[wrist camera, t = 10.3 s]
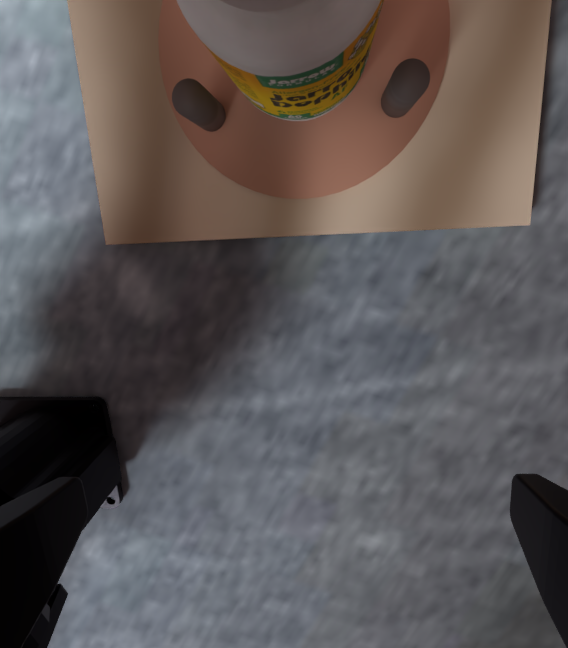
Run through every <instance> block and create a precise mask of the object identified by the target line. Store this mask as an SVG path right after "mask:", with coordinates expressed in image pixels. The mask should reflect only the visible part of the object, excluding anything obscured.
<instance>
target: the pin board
mask: <svg viewBox="0 0 568 648" xmlns="http://www.w3.org/2000/svg"><path fill="white" fill-rule="evenodd" d="M67 2H68V8H69V15H70V21H71V27H72V34H73V40H74V46H75V53H76V59H77V65H78V72H79V78H80V84H81V91H82V97H83V103H84V110H85V116H86V122H87V128H88V135H89V141H90V147H91V154H92V160H93V166H94V173H95V179H96V185H97V192H98V198H99V204H100V211H101V217H102V223H103V230H104V236H105V242H106V245H114V244H135V243H157V242H178V241H200V240H221V239H242V238H264V237H285V236H307V235H328V234H350V233H371V232H393V231H414V230H436V229H457V228H478V227H500V226H521V225H530V220H531V210H532V200H533V189H534V179H535V168H536V158H537V148H538V137H539V127H540V116H541V106H542V95H543V85H544V75H545V64H546V54H547V43H548V33H549V23H550V12H551V2H552V0H384V2H383V5H382V9H381V12H380V16H379V20H378V24H377V27H376V31H375V35H374V38H373V42H372V46H371V50H370V53H369V57H368V60H367V63H366V65H365V68H364V71H363V73H362V75H361V77H360V80H359V82H358V83H357V85H356V87H355V88H354V90H353V91H352V92H351V94H350V95H349V96H348V97H347V98H346V99H345V100H344V101H343V102H342V103H341V104H340V105H339V106H337V107H336V108H335V109H333V110H332V111H330V112H328V113H327V114H325V115H323V116H321V117H318V118H316V119H312V120H308V121H289V120H283V119H279V118H276V117H273V116H271V115H268V114H266V113H264V112H263V111H261V110H260V109H258V108H257V107H255V106H254V105H253V104H252V103H251V102H250V101H249V100H248V99H247V98H246V97H245V96H244V94H243V93H242V92H241V91H240V89H239V88H238V87H237V86H236V85H235V83H234V82H233V81H232V79H231V78H230V77H229V76H228V74H227V73H226V72H225V70H224V69H223V68H222V67H221V65H220V64H219V63H218V61H217V60H216V59H215V58H214V56H213V55H212V54H211V52H210V51H209V50H208V49H207V47H206V46H205V45H204V44H203V43H202V41H201V40H200V39H199V37H198V36H197V35H196V33H195V32H194V31H193V29H192V28H191V27H190V25H189V24H188V22H187V20H186V19H185V17H184V15H183V13H182V11H181V9H180V7H179V5H178V3H177V0H67Z"/></svg>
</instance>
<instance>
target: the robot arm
mask: <svg viewBox="0 0 568 648" xmlns="http://www.w3.org/2000/svg"><path fill="white" fill-rule="evenodd" d="M93 404H94V405H96V406H98V408H99V410H97V409H95V408H94V406H93ZM120 480H121V471H120V466H119V460H118V454H117V448H116V442H115V439H114V437H113V436H112V431H111V425H110V420H109V414H108V408H107V404H106V402H105V401H104V399H102V398H100V397H0V648H47V646H48V644H49V641H50V639H51V636H52V634H53V631H54V628H55V626H56V623H57V621H58V618H59V616H60V613H61V611H62V608H63V605H64V603H65V600H66V598H67V595H68V593H67V591H66V590H65V589H64V587H63V586H62V585H61V584H57V583H58V581H59V579H60V577H61V575H62V573H63V570H64V568H65V566H66V564H67V562H68V560H69V557H70V555H71V553H72V551H73V549H74V547H75V545H76V542H77V540H78V538H79V536H80V534H81V532H82V530H83V529H84V528H85V527H86V525H87V524H88V523H89V521H90V520H91V519H92V517H93V516H94V515H95V513H96V512H97V511H98V509H99V508H109V509H113V508H116V507H118V506H119V504H120V503H121V501H122V500H123V494H122V488H121V483H120ZM111 497H113V498H114V499H115V500H113V499H112V498H111ZM510 516H511V521H512V524H513V527H514V529H515V532H516V534H517V537H518V539H519V542H520V544H521V547H522V549H523V552H524V555H525V557H526V560H527V562H528V565H529V567H530V570H531V572H532V575H533V577H534V580H535V582H536V585H537V588H538V590H539V592H540V595H541V597H542V600H543V602H544V604H545V606H546V608H547V610H548V612H549V614H550V616H551V618H552V620H553V622H554V624H555V626H556V628H557V630H558V632H559V634H560V636H561V638H562V640H563V642H564V644H565V645H566V647H567V648H568V490H566V489H564V488H562V487H560V486H559V485H557V484H555V483H553V482H551V481H549V480H547V479H546V478H544V477H542V476H540V475H538V474H516V475H515V476H514V477H513V480H512V489H511V502H510Z"/></svg>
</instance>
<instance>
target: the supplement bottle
mask: <svg viewBox="0 0 568 648" xmlns="http://www.w3.org/2000/svg"><path fill="white" fill-rule="evenodd" d="M383 2H384V0H177V3H178V5H179V7H180V9H181V11H182V13H183V15H184V17H185V19H186V20H187V22H188V24H189V25H190V27H191V28H192V29H193V31H194V32H195V33H196V35H197V36H198V37H199V39H200V40H201V41H202V43H203V44H204V45H205V46H206V47H207V49H208V50H209V51H210V52H211V54H212V55H213V56H214V58H215V59H216V60H217V61H218V63H219V64H220V65H221V67H222V68H223V69H224V70H225V72H226V73H227V74H228V76H229V77H230V78H231V79H232V81H233V82H234V83H235V85H236V86H237V87H238V88H239V89H240V91H241V92H242V93H243V94H244V96H245V97H246V98H247V99H248V100H249V101H250V102H251V103H252V104H253V105H254V106H255V107H257V108H258V109H260V110H261V111H263V112H264V113H266V114H268V115H271V116H273V117H276V118H279V119H283V120H289V121H308V120H312V119H316V118H318V117H321V116H323V115H325V114H327V113H328V112H330V111H332V110H333V109H335V108H336V107H337V106H339V105H340V104H341V103H342V102H343V101H344V100H345V99H346V98H347V97H348V96H349V95H350V94H351V92H352V91H353V90H354V88H355V87H356V85H357V83H358V82H359V80H360V77H361V75H362V73H363V71H364V68H365V65H366V63H367V60H368V57H369V53H370V50H371V46H372V42H373V38H374V35H375V31H376V27H377V24H378V20H379V16H380V12H381V9H382V5H383Z"/></svg>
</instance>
